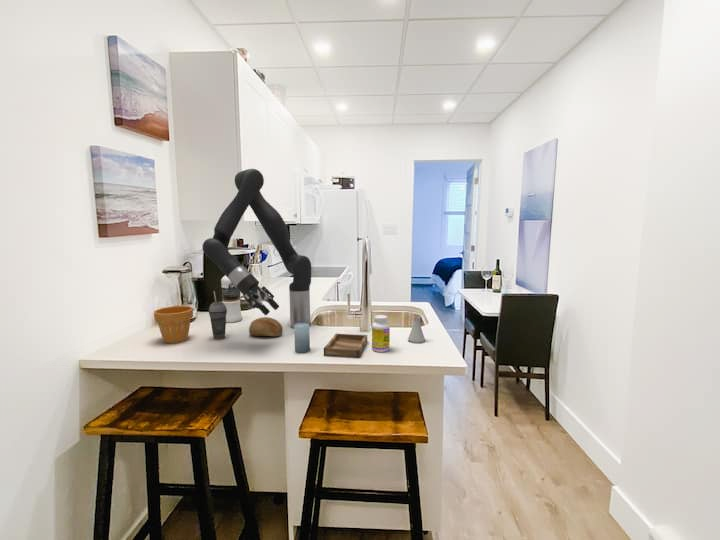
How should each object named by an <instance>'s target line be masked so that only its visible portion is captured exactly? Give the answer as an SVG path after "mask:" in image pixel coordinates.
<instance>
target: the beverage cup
mask: <svg viewBox="0 0 720 540" xmlns="http://www.w3.org/2000/svg"><path fill="white" fill-rule="evenodd" d="M213 295H214V301H213V302H212V303H211V304H210V306H209V308H208V315H209V317H210V323H211V324H210V325H211V332H212V336H213V339H214V340H223V339H225V338H226V326H227V323H226V314H227V308H226V306H225V304H224V303H222V301H220V300H219V301H217V297H216V291H215V290H214V291H213ZM222 338H223V339H222Z"/></svg>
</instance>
